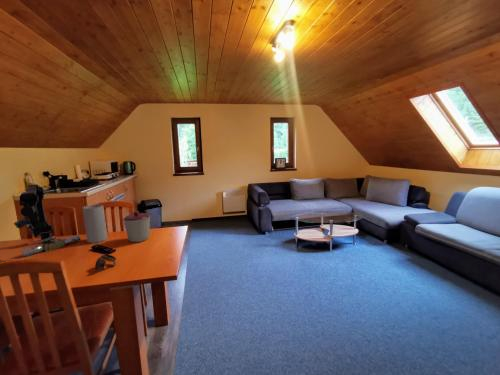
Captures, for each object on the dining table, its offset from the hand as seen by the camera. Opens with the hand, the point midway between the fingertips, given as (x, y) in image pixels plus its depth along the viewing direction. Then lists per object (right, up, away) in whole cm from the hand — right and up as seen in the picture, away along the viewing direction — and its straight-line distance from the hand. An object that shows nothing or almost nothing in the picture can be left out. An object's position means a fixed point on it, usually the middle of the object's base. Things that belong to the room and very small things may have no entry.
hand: (35, 237), depth 157 cm
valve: (+1, -10, +14) cm, 17 cm away
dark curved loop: (+54, -13, -19) cm, 59 cm away
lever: (-2, -4, +8) cm, 9 cm away
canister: (+54, -6, +23) cm, 59 cm away
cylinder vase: (+23, -7, +26) cm, 35 cm away
